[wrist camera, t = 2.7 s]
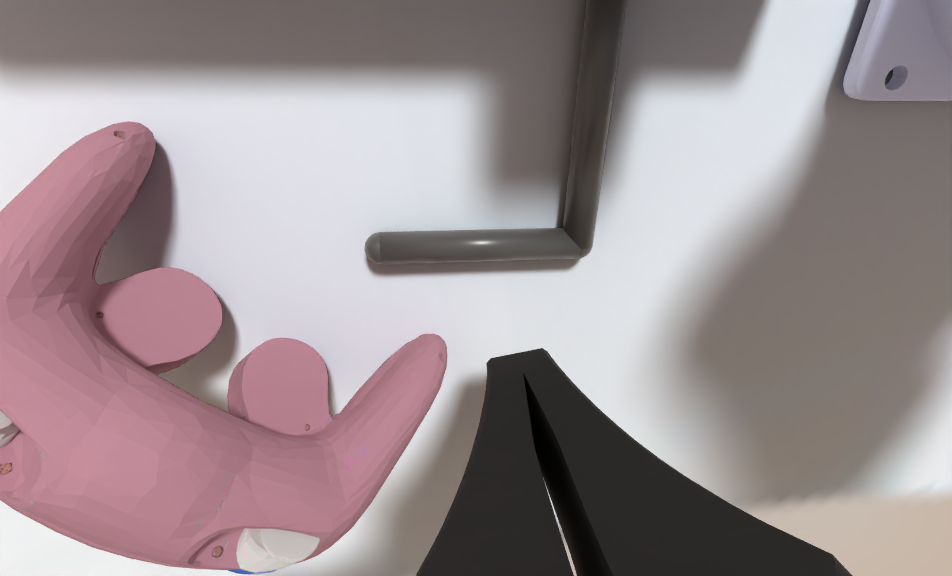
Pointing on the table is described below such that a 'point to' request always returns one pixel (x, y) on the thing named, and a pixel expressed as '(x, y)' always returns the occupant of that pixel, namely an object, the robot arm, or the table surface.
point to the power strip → (582, 177)
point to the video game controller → (172, 395)
